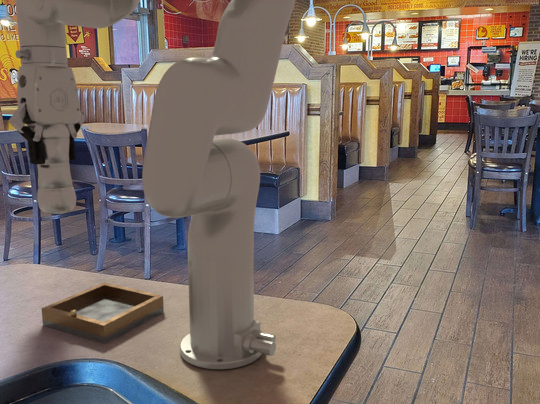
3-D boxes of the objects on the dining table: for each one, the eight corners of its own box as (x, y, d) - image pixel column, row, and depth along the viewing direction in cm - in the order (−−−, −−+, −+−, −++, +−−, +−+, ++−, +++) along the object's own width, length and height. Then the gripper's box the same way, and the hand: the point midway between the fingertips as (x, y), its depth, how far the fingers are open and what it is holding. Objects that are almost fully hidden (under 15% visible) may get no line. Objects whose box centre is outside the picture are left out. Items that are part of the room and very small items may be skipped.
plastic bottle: (69, 216, 95) (59, 102, 91) (31, 216, 95) (20, 103, 92) (82, 209, 102) (73, 102, 98) (47, 209, 102) (37, 102, 98)
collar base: (163, 311, 94) (162, 291, 94) (104, 343, 82) (103, 320, 82) (105, 297, 101) (104, 278, 100) (42, 325, 89) (41, 303, 88)
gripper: (14, 54, 84) (26, 168, 87) (97, 60, 99) (104, 157, 102) (-16, 57, 88) (-4, 166, 91) (68, 62, 102) (76, 156, 106)
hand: (53, 160), depth 97 cm, fingers closed on plastic bottle, 6 cm apart
